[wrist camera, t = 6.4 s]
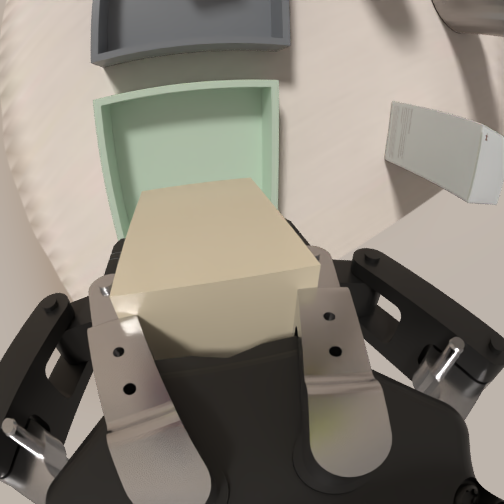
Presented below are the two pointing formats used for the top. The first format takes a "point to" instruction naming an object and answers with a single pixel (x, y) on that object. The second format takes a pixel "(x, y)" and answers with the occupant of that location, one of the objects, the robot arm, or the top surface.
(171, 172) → the pale green bin
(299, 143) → the top surface
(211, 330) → the sandstone block
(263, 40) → the dark grey bin
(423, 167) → the supplement box
